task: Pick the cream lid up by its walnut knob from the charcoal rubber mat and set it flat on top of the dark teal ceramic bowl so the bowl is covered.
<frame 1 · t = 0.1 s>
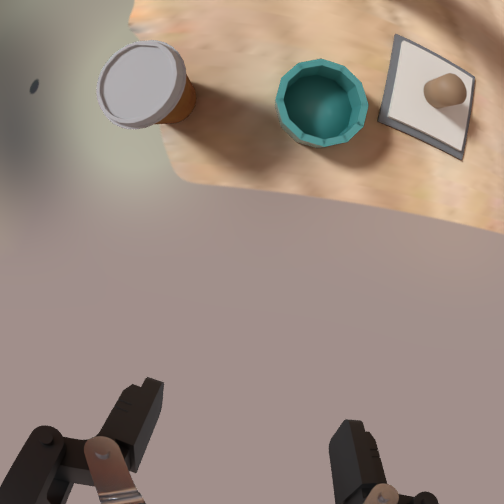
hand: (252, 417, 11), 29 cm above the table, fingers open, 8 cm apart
disposable coffee cup: (173, 100, 35), on the table
mat: (431, 95, 32), on the table
bowl: (316, 108, 34), on the table
lid: (433, 95, 31), resting on mat
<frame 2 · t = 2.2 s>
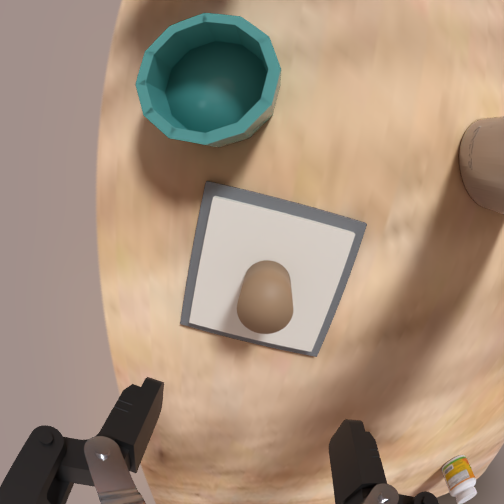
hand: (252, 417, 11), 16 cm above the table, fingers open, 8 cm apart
mat: (267, 276, 27), on the table
supplement bottle: (452, 461, 36), on the table
bowl: (217, 88, 23), on the table
lid: (267, 278, 27), resting on mat
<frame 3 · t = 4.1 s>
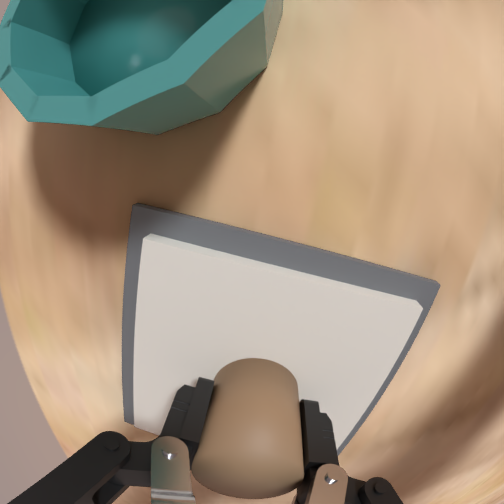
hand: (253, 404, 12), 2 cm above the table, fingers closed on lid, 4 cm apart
mat: (256, 373, 14), on the table
bowl: (160, 25, 10), on the table
lid: (256, 379, 14), resting on mat, touching gripper
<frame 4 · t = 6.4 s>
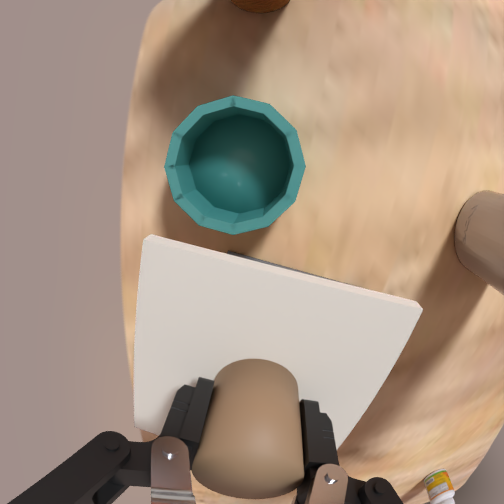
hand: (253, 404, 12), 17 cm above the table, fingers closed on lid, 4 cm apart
supplement bottle: (434, 474, 41), on the table
bowl: (239, 163, 26), on the table
lid: (256, 380, 14), point 15 cm above the table, touching gripper
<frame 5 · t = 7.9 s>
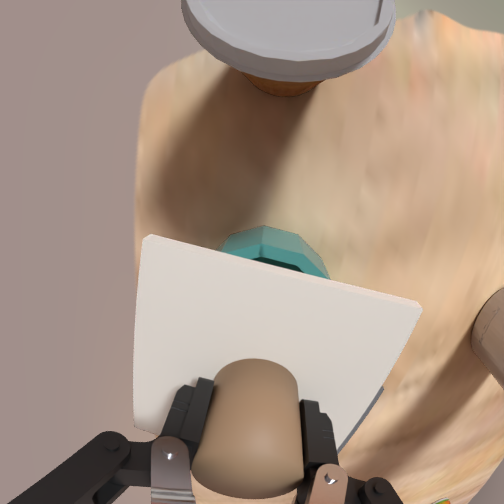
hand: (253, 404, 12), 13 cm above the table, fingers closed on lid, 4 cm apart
disposable coffee cup: (283, 60, 19), on the table
supplement bottle: (437, 502, 39), on the table
bowl: (264, 288, 25), on the table
lid: (256, 379, 14), point 11 cm above the table, touching gripper
when the fingers open (8 cm above the table, at t = 9.1 s): lid drops 1 cm, resting on bowl.
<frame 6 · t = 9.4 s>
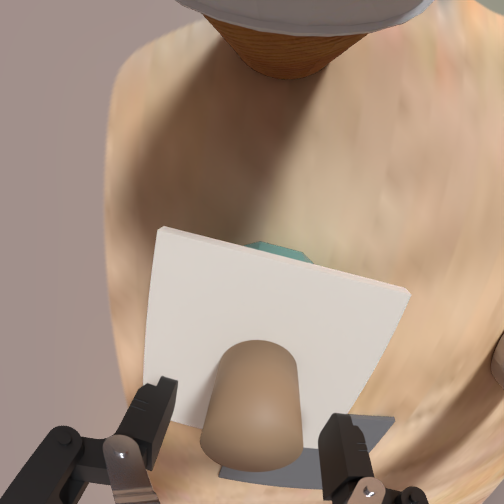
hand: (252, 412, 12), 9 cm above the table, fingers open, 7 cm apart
disposable coffee cup: (285, 35, 15), on the table
mat: (299, 454, 25), on the table
bowl: (260, 316, 20), on the table
lid: (258, 362, 15), point 5 cm above the table, touching bowl
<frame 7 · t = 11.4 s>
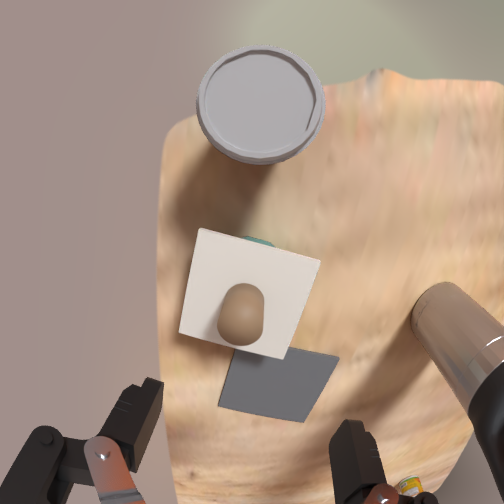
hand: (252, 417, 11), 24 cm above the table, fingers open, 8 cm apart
disposable coffee cup: (263, 119, 30), on the table
mat: (275, 384, 41), on the table
supplement bottle: (408, 479, 51), on the table
lid: (245, 297, 31), point 5 cm above the table, touching bowl
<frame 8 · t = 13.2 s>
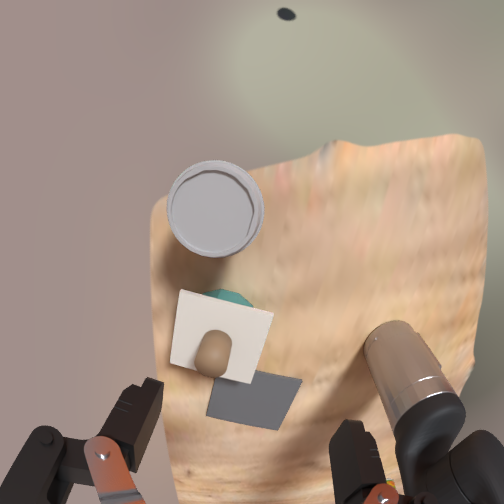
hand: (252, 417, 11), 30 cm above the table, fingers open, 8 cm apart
disposable coffee cup: (229, 196, 39), on the table
mat: (251, 399, 49), on the table
supplement bottle: (383, 482, 59), on the table
bowl: (223, 320, 44), on the table
lid: (218, 339, 40), point 5 cm above the table, touching bowl
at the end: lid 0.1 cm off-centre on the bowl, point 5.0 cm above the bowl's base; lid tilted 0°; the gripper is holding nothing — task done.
